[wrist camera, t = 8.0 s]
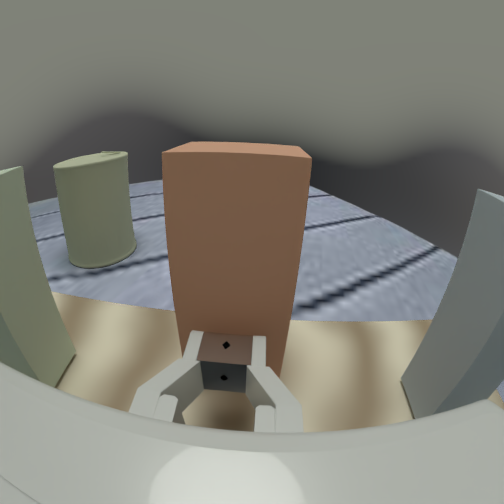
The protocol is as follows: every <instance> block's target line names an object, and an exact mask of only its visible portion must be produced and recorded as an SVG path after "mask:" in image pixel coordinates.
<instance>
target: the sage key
mask: <svg viewBox="0 0 504 504" xmlns="http://www.w3.org/2000/svg"><path fill="white" fill-rule="evenodd" d="M75 352H76V350H75V348H74V345H73V343H72V341H71V339H70V337H69V335H68V332H67V330H66V328H65V325H64V323H63V321H62V318H61V316H60V313H59V311H58V308H57V306H56V303H55V300H54V298H53V295H52V292H51V289H50V286H49V283H48V280H47V277H46V274H45V271H44V268H43V265H42V261H41V258H40V254H39V251H38V247H37V243H36V239H35V235H34V231H33V226H32V222H31V217H30V212H29V207H28V201H27V195H26V189H25V182H24V175H23V167H22V166H20V167H15V168H10V169H5V170H1V171H0V362H2V363H4V364H6V365H7V366H9V367H11V368H13V369H15V370H17V371H19V372H21V373H23V374H25V375H27V376H29V377H31V378H33V379H36V380H38V381H40V382H42V383H45V384H47V385H49V386H52V387H55V386H56V384H57V382H58V380H59V379H60V377H61V375H62V374H63V372H64V370H65V369H66V367H67V365H68V364H69V362H70V360H71V359H72V357H73V356H74V354H75Z"/></svg>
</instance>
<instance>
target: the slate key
mask: <svg viewBox="0 0 504 504" xmlns="http://www.w3.org/2000/svg"><path fill="white" fill-rule="evenodd" d="M401 380H402V383H403V385H404V388H405V391H406V394H407V396H408V399H409V402H410V405H411V408H412V411H413V414H414V417H415V419H417V418H422V417H426V416H430V415H434V414H438V413H442V412H445V411H449V410H452V409H455V408H459V407H462V406H465V405H468V404H471V403H474V402H477V401H480V400H483V399H488V398H489V397H490V396H491V394H492V393H493V392H494V391H495V390H496V388H497V387H498V386H499V385H500V383H501V382H502V381H503V380H504V197H503V196H500V195H497V194H494V193H491V192H487V191H484V190H481V189H478V190H477V195H476V199H475V203H474V207H473V211H472V215H471V219H470V222H469V226H468V229H467V233H466V236H465V239H464V242H463V246H462V249H461V252H460V255H459V257H458V260H457V263H456V266H455V269H454V271H453V274H452V277H451V279H450V282H449V284H448V287H447V289H446V291H445V294H444V296H443V298H442V301H441V303H440V305H439V308H438V310H437V312H436V314H435V316H434V318H433V320H432V322H431V324H430V326H429V328H428V330H427V332H426V334H425V336H424V338H423V340H422V342H421V344H420V346H419V348H418V349H417V351H416V353H415V355H414V357H413V358H412V360H411V362H410V363H409V365H408V367H407V368H406V370H405V372H404V373H403V375H402V377H401Z"/></svg>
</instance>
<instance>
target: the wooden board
mask: <svg viewBox="0 0 504 504" xmlns="http://www.w3.org/2000/svg"><path fill="white" fill-rule="evenodd" d="M52 295H53V298H54V300H55V303H56V306H57V308H58V311H59V313H60V316H61V318H62V321H63V323H64V325H65V328H66V330H67V332H68V335H69V337H70V339H71V341H72V343H73V345H74V348H75V350H76V352H75V354H74V356H73V357H72V359H71V360H70V362H69V364H68V365H67V367H66V369H65V370H64V372H63V374H62V375H61V377H60V379H59V380H58V382H57V384H56V386H55V387H54V388H56V389H59V390H61V391H64V392H66V393H69V394H72V395H74V396H77V397H80V398H83V399H86V400H89V401H92V402H95V403H98V404H101V405H104V406H107V407H111V408H114V409H118V410H121V411H125V412H129V409H130V407H131V404H132V402H133V399H134V396H135V394H136V391H137V389H138V387H140V386H141V385H143V384H144V383H146V382H147V381H148V380H150V379H151V378H153V377H154V376H155V375H157V374H158V373H159V372H161V371H162V370H164V369H165V368H166V367H168V366H169V365H170V364H172V363H173V362H175V361H176V360H177V359H179V358H180V359H182V358H183V357H182V351H181V346H180V340H179V334H178V328H177V321H176V315H175V311H170V310H162V309H154V308H146V307H139V306H132V305H125V304H118V303H112V302H106V301H100V300H94V299H88V298H82V297H77V296H71V295H66V294H61V293H56V292H52ZM431 322H432V320H415V321H378V322H336V321H298V320H290V325H289V331H288V337H287V342H286V348H285V353H284V358H283V363H282V369H281V374H280V380H281V381H282V383H283V384H284V385H285V386H286V387H287V389H288V390H289V391H290V392H291V393H292V395H293V396H294V397H295V398H296V399H297V400H298V402H299V403H300V404H301V405H302V416H303V429H304V432H324V431H338V430H349V429H358V428H366V427H374V426H380V425H387V424H392V423H398V422H403V421H408V420H413V419H415V417H414V414H413V411H412V408H411V405H410V402H409V399H408V396H407V394H406V391H405V388H404V385H403V383H402V380H401V377H402V375H403V373H404V372H405V370H406V368H407V367H408V365H409V363H410V362H411V360H412V358H413V357H414V355H415V353H416V351H417V349H418V348H419V346H420V344H421V342H422V340H423V338H424V336H425V334H426V332H427V330H428V328H429V326H430V324H431ZM487 400H490V401H492V402H493V403H495V404H496V405H498V406H499V407H500V408H502V409H503V410H504V403H503V401H502V399H501V397H500V395H499V393H498V391H497V389H496V390H495V391H494V392H493V393H492V394H491V396H490V397H489V398H488V399H487ZM182 415H183V418H184V421H185V424H186V425H192V426H199V427H207V428H215V429H224V430H235V431H250V432H253V426H254V418H255V409H254V407H253V406H252V404H251V402H250V401H249V399H248V397H247V396H246V394H245V393H239V392H230V391H220V390H208V389H204V391H203V392H202V393H201V394H200V395H199V396H198V397H197V398H196V399H195V400H194V401H193V402H192V403H191V404H190V405H189V406H188V407H187V408H186V409H185V410H184V411H183V412H182Z"/></svg>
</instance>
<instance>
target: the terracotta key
mask: <svg viewBox="0 0 504 504" xmlns="http://www.w3.org/2000/svg"><path fill="white" fill-rule="evenodd" d="M311 163H312V158H311V157H310V156H309V155H308V154H307V153H305V152H304V151H303V150H302V149H301V148H300V147H297V146H287V145H275V144H260V143H237V142H190V143H187V144H184V145H181V146H178V147H176V148H173V149H170V150H168V151H165V152H162V169H163V170H162V171H163V195H164V211H165V225H166V238H167V249H168V259H169V268H170V277H171V285H172V293H173V301H174V308H175V315H176V321H177V328H178V334H179V340H180V346H181V351H182V357H183V355H184V351H185V348H186V345H187V342H188V339H189V335H190V333H191V331H192V330H195V331H203V332H204V331H205V332H213V333H222V334H235V335H252V336H266V367H270V368H271V369H272V370H273V372H274V373H275V374H276V375H277V377H278V378H279V379H280V374H281V369H282V363H283V358H284V353H285V348H286V342H287V337H288V331H289V325H290V320H291V314H292V308H293V302H294V295H295V289H296V283H297V276H298V269H299V263H300V256H301V248H302V241H303V234H304V226H305V218H306V210H307V201H308V192H309V183H310V174H311ZM252 343H253V342H252Z"/></svg>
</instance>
